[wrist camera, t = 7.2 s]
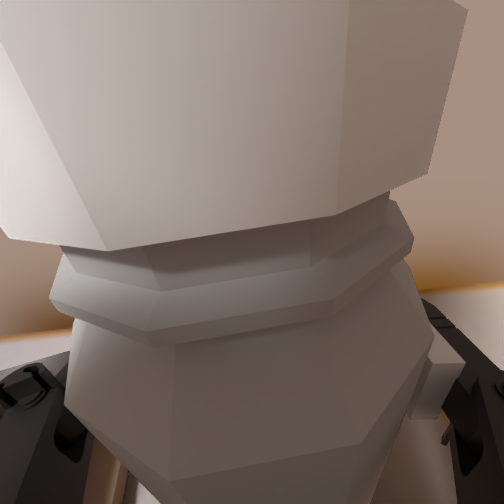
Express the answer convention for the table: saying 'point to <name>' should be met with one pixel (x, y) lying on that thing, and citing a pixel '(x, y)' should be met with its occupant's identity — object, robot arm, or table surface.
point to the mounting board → (102, 460)
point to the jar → (230, 227)
